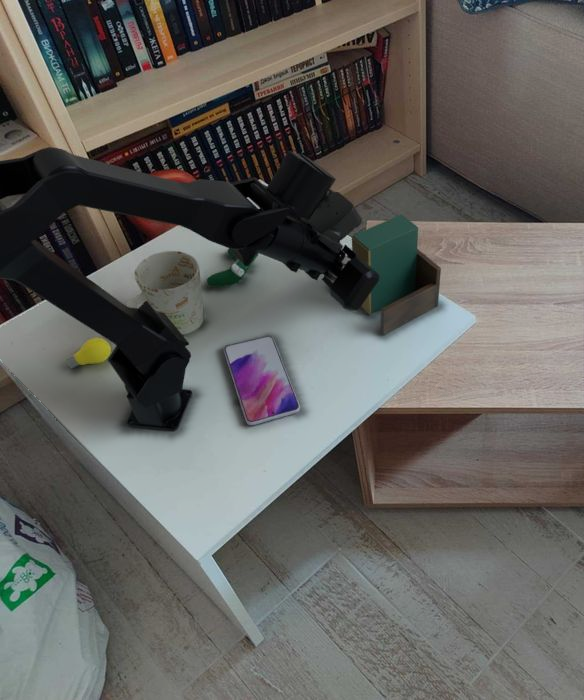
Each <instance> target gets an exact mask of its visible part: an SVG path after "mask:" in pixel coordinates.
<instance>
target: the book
mask: <svg viewBox="0 0 584 700" xmlns="http://www.w3.org/2000/svg"><path fill="white" fill-rule="evenodd" d="M418 241H419V227H418V226H417V225H416V224H415V223H414V222H412V221H411V220H410V219H408V217H406V215H403V214H399V215H397V216H394V217H392V218H389V219H388V220H385V221H383V222H381V223H379V224H376V225H374V226H371V227H369V228H367V229H365V230H361V231H359V232H358V233H356V234H353V235H352V236H351V250H352V251H353V252H354V253H355V254H356V256H357V258H359V259H361V260H362V261H364V262H365V263H367V264H368V265H369V266H370V267H371V268H373V269H374V270H375V271H376V272H377V273H378V274H379V281H378V283H377V284H376V286H375V287H374V288H373V290H372V291H371V293H370V294H369V296H368V297H367V299H366V300H365V301H364V303H363V304H362V306H361V307H360V308H362V309H363V310H364V311H365V312H366V313H367V314H368V315H370V316H371V315H374V314H375V313H378V312H379V311H381V309H382V308H384V307H386V306H388V305H390V304H392V303H394V302H395V301H397V300H399V299H401V298H403V297H405V296H407V295H409V294H411V293H413V292H415V284H416V264H417V249H418Z"/></svg>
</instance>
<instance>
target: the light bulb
mask: <svg viewBox="0 0 584 700" xmlns="http://www.w3.org/2000/svg"><path fill="white" fill-rule="evenodd" d="M111 354H112V349H111V345H110V343H109V342H108V340H105V338H101V337H92V338H89V339H88V340H86V341H85V343H84V344H83V345H82V346H81V348H80V349H79V350H78V351H77V352H75V354H74V355H72V356H71V357H69V358H67V359H66V361H65V366H66V367H67V368H71V369H74V368H76V367H78V366H84V365H87V364H88V365H89V364H90V365H92V364H93V365H94V364H101V363H104V362H105V361H107V360H108V358H109V357H110V355H111Z"/></svg>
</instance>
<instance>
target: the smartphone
mask: <svg viewBox="0 0 584 700" xmlns="http://www.w3.org/2000/svg"><path fill="white" fill-rule="evenodd" d="M223 354H224V356H225V361H226V363H227V366H228V369H229V372H230V375H231V378H232V382H233V385H234V388H235V392H236V395H237V398H238V402H239V405H240V408H241V409H240V410H241V412H242V413H243V417H244V420H245V423H246V424H247V425H248V426H255V425H259V424H262V423H266V422H271V421H273V420H277V419H280V418H284V417H287V416H290V415H294V414H297V413H299V412H300V411H301V405H300V403H299V400H298V397H297V395H296V392H295V389H294V387H293V384H292V382H291V379H290V376H289V374H288V372H287V369H286V367H285V364H284V361H283V358H282V356H281V354H280V351H279V348H278V346H277V343H276V340H275V338H274V337H273V335H269V334H267V335H264V336H263V335H262V336H259V337H254V338H252V339H246V340H242V341H237V342H233V343H230V344H226V345H225V346H224V347H223Z"/></svg>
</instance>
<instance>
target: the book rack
mask: <svg viewBox="0 0 584 700" xmlns="http://www.w3.org/2000/svg"><path fill="white" fill-rule="evenodd" d="M441 272H442V268H441V266H439V265H438V264H437V263H435V261H433V260H432V259H431V258H429V256H427V255H426V254H424V253H423V252H422V251H421V250H420V249H418V248H417V264H416V284H415V292H413V293H411V294H409V295H407V296H405V297H403V298H401V299H399V300H397V301H395V302H394V303H392V304H390V305H388V306H386V307H384V308H382V309H381V310H380V334H381V335H383V336H386V335H388V334H389V333H391V332H393V331H395V330H397V329H399V328H400V327H402V326H404V325H406V324H408V323H410V322H411V321H414V320H415V319H418V318H419V317H421V316H423V315H424V314H427V313H428V312H430V311H432V310H434V309H436V308H437V307H438V306H439V298H440V287H441V286H440V285H441Z"/></svg>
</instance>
